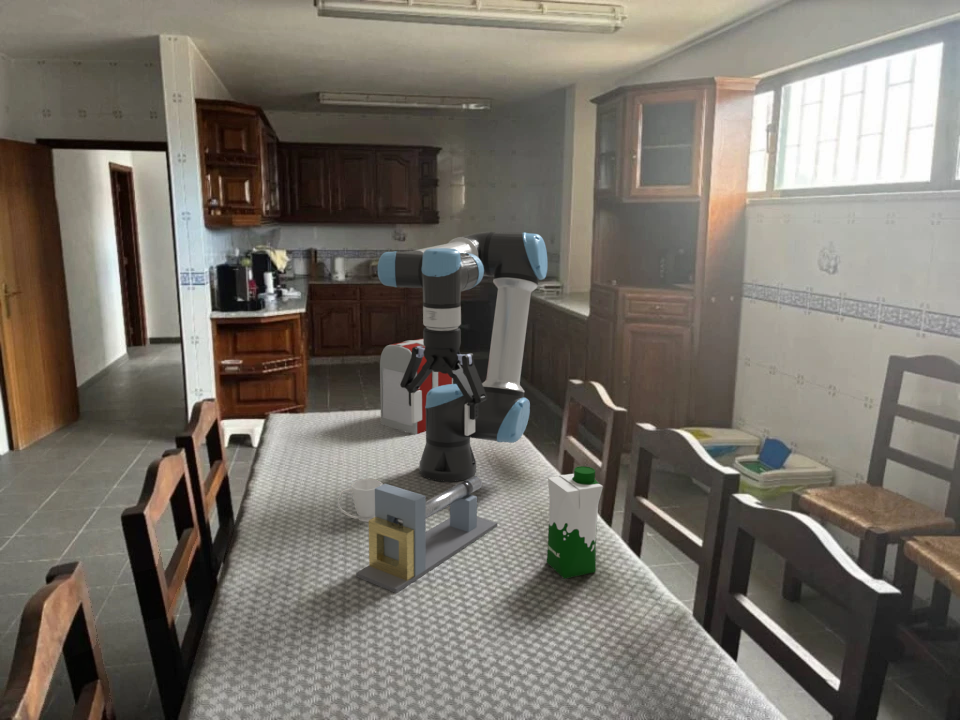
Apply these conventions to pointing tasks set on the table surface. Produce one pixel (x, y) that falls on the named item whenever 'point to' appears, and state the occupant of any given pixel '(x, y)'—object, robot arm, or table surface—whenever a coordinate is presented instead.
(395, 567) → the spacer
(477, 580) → the table surface
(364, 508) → the cup
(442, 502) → the shaft
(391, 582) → the rig
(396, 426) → the red grey striped box
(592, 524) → the milk carton
